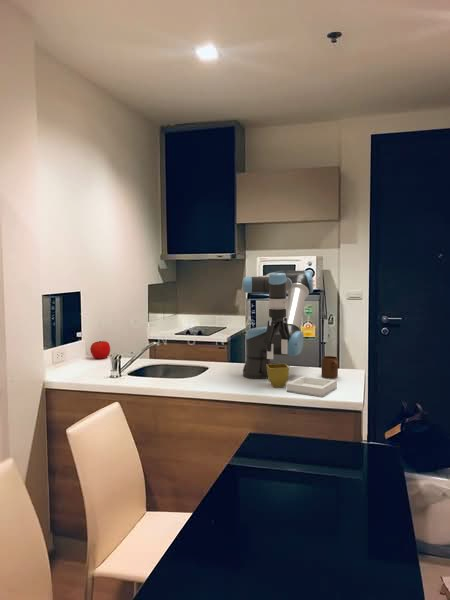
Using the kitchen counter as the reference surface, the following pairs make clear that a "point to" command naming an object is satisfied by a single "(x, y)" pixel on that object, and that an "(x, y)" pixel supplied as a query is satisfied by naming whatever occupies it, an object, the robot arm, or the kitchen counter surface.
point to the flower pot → (277, 374)
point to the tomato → (100, 349)
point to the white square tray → (312, 386)
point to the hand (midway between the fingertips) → (277, 356)
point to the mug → (329, 367)
